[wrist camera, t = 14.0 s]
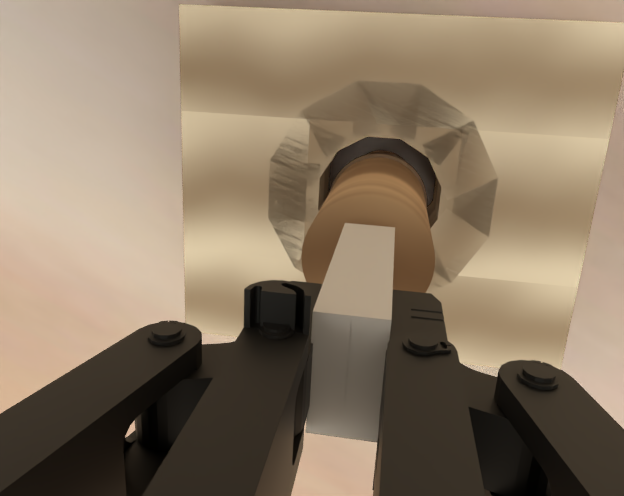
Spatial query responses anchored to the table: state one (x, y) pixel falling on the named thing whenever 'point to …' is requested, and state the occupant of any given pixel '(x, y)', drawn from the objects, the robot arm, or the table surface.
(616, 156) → the table surface
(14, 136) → the table surface
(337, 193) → the peg
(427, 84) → the board
